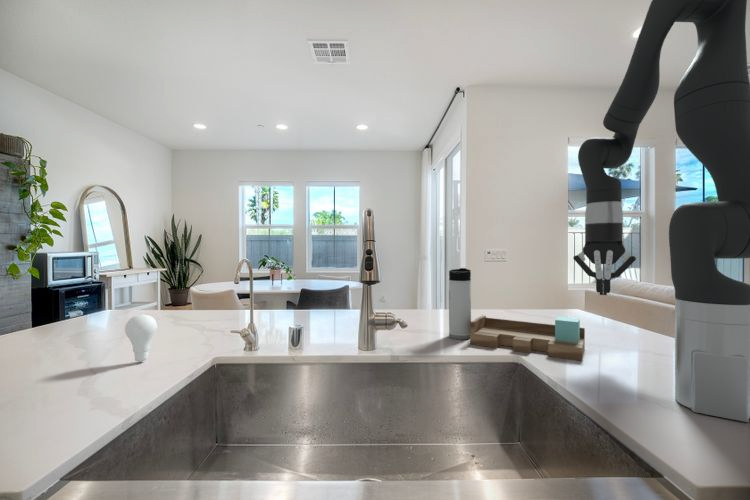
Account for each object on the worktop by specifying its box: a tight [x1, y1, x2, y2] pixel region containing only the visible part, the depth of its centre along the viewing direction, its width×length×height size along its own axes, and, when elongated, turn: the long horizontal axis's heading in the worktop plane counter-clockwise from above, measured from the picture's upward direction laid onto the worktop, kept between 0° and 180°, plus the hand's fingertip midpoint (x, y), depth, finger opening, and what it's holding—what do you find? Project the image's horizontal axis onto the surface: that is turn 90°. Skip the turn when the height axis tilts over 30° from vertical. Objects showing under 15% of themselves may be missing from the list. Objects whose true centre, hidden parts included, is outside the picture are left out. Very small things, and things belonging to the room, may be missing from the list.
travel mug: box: [448, 267, 472, 341], centre depth 102 cm, size 6×7×20 cm
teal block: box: [554, 316, 581, 343], centre depth 87 cm, size 5×5×5 cm
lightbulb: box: [124, 313, 158, 363], centre depth 80 cm, size 6×6×11 cm
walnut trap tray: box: [469, 315, 586, 362], centre depth 91 cm, size 11×26×6 cm, turn 56°
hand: (603, 294), depth 83 cm, fingers closed
